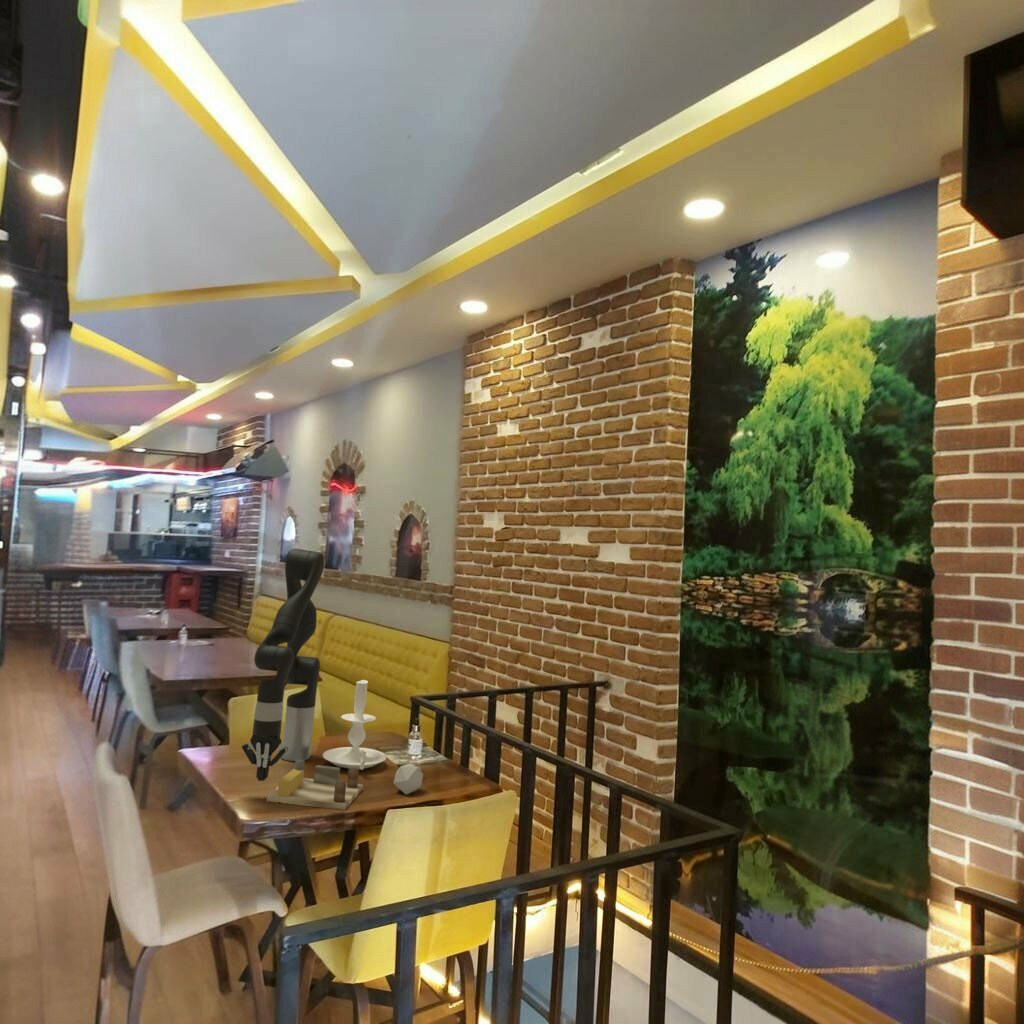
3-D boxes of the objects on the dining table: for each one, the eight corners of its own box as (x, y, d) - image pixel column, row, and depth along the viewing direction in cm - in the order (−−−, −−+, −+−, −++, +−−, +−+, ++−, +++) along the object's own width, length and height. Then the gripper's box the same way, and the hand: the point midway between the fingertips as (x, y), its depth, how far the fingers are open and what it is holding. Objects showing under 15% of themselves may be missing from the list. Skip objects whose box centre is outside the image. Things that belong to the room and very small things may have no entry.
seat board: (290, 781, 226) (292, 759, 226) (362, 789, 224) (364, 767, 224) (266, 801, 208) (269, 777, 208) (344, 810, 206) (347, 785, 206)
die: (425, 797, 224) (430, 765, 230) (407, 787, 219) (412, 755, 225) (404, 801, 228) (409, 770, 234) (386, 791, 222) (391, 759, 229)
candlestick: (329, 780, 230) (338, 687, 232) (317, 757, 253) (325, 673, 254) (395, 778, 238) (403, 688, 239) (377, 755, 261) (385, 674, 262)
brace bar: (294, 780, 222) (296, 758, 222) (304, 781, 222) (306, 759, 222) (277, 795, 209) (279, 771, 209) (287, 796, 208) (290, 772, 209)
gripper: (296, 716, 215) (289, 778, 214) (250, 712, 216) (244, 774, 214) (286, 722, 207) (279, 786, 206) (239, 717, 208) (232, 781, 207)
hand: (261, 780), depth 210 cm, fingers closed
